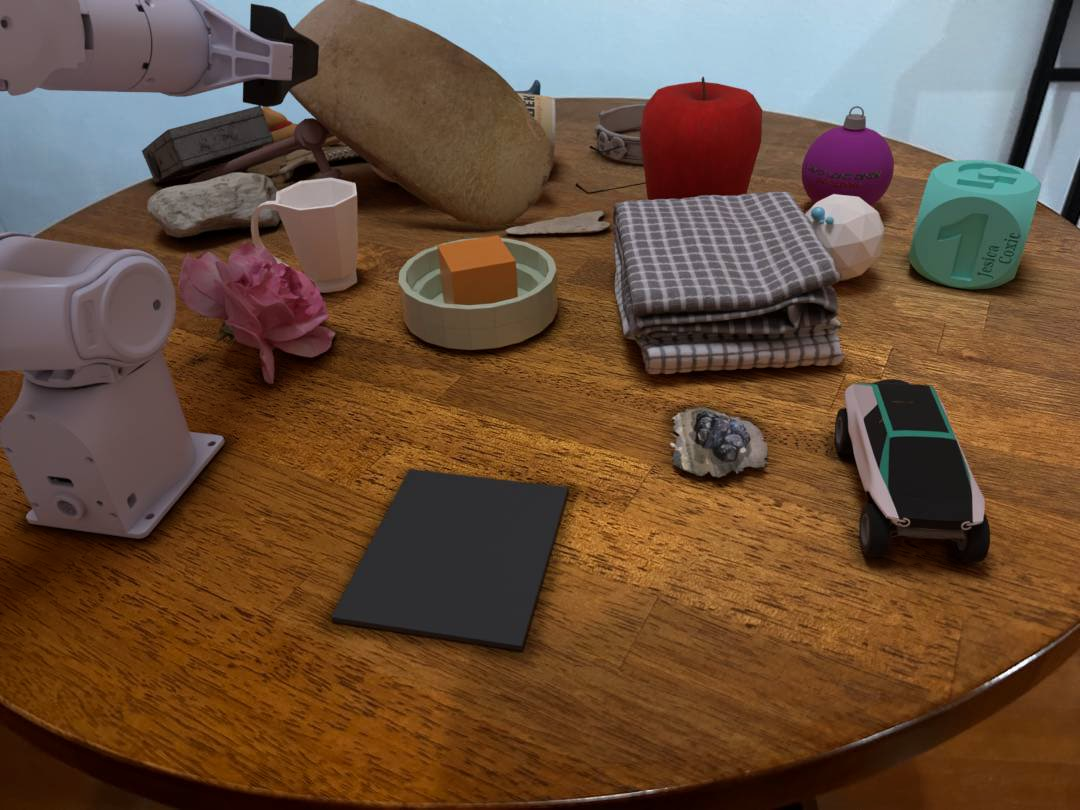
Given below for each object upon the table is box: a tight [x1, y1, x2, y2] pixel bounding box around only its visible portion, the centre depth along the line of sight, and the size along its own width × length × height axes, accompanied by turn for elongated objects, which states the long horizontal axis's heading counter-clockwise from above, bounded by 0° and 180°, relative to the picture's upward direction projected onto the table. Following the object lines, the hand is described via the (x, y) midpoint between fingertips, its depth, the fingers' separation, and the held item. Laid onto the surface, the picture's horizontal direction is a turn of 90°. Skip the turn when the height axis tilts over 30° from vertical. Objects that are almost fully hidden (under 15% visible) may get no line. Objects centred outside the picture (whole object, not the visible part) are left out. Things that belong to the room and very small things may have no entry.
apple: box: [639, 76, 763, 200], centre depth 79 cm, size 10×10×14 cm
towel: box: [612, 190, 845, 375], centre depth 66 cm, size 15×18×8 cm
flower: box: [178, 241, 336, 385], centre depth 65 cm, size 11×10×10 cm
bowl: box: [397, 237, 559, 351], centre depth 69 cm, size 12×12×4 cm
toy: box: [261, 106, 342, 151], centre depth 104 cm, size 3×17×5 cm, turn 91°
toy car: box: [834, 378, 991, 563], centre depth 49 cm, size 6×12×5 cm, turn 173°
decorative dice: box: [908, 159, 1042, 290], centre depth 71 cm, size 8×8×8 cm
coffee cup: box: [517, 93, 556, 172], centre depth 94 cm, size 9×9×12 cm
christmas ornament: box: [801, 105, 895, 207], centre depth 81 cm, size 8×8×10 cm
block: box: [437, 234, 518, 305], centre depth 68 cm, size 5×5×5 cm
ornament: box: [804, 194, 885, 282], centre depth 71 cm, size 7×7×8 cm
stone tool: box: [505, 209, 612, 236], centre depth 83 cm, size 5×1×10 cm
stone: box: [288, 0, 552, 226], centre depth 85 cm, size 30×15×6 cm
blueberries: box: [669, 406, 769, 478], centre depth 55 cm, size 7×8×2 cm
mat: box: [330, 468, 569, 652], centre depth 48 cm, size 12×10×1 cm
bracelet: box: [594, 103, 647, 164], centre depth 100 cm, size 14×14×3 cm
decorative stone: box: [146, 171, 282, 238], centre depth 85 cm, size 12×11×5 cm
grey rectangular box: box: [141, 105, 274, 184], centre depth 93 cm, size 16×4×10 cm
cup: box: [250, 178, 359, 294], centre depth 74 cm, size 7×10×8 cm
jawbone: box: [276, 145, 363, 181], centre depth 100 cm, size 9×20×2 cm, turn 118°
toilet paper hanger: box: [189, 117, 346, 184], centre depth 92 cm, size 22×8×14 cm
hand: (265, 50), depth 60 cm, fingers open, 7 cm apart
